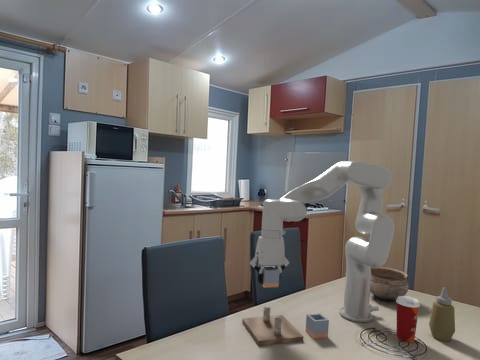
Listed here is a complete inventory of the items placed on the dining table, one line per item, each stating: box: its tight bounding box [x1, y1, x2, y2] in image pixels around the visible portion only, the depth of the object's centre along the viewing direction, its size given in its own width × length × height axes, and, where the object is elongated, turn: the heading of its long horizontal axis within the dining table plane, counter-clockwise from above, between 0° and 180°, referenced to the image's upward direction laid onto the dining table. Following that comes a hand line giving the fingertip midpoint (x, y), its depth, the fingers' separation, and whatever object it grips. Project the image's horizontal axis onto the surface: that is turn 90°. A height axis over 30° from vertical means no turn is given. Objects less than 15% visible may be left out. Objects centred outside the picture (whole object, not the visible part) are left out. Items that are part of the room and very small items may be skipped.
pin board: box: [241, 305, 304, 346], centre depth 121 cm, size 16×17×6 cm
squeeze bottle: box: [428, 287, 456, 342], centre depth 123 cm, size 8×8×18 cm
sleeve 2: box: [305, 312, 330, 339], centre depth 120 cm, size 6×6×6 cm
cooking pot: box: [370, 266, 410, 302], centre depth 160 cm, size 25×19×12 cm
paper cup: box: [395, 295, 421, 344], centre depth 121 cm, size 8×8×14 cm
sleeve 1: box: [261, 266, 280, 289], centre depth 125 cm, size 6×6×6 cm
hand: (268, 282), depth 125 cm, fingers closed on sleeve 1, 5 cm apart
